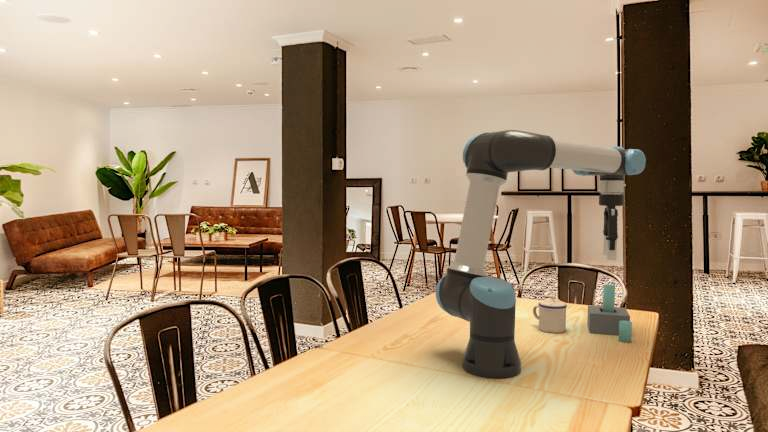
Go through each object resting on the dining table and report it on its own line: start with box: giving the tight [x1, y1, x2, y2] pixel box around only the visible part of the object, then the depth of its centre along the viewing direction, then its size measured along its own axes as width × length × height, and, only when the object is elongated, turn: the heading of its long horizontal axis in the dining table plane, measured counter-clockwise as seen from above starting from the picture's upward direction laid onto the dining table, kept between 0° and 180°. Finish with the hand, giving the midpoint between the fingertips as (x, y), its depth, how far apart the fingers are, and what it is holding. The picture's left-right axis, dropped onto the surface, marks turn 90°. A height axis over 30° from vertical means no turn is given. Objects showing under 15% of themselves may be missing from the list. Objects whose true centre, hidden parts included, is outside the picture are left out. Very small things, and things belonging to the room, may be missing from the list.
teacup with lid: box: [532, 294, 568, 334], centre depth 179 cm, size 12×9×12 cm
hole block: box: [586, 305, 631, 336], centre depth 178 cm, size 12×12×6 cm
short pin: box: [618, 320, 633, 344], centre depth 165 cm, size 4×4×6 cm
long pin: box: [602, 284, 616, 313], centre depth 177 cm, size 4×4×15 cm
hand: (609, 257), depth 176 cm, fingers open, 13 cm apart
